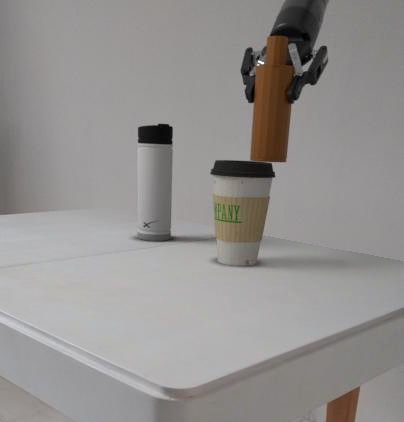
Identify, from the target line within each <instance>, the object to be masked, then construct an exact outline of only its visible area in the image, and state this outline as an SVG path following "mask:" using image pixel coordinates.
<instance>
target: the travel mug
mask: <svg viewBox="0 0 404 422" xmlns="http://www.w3.org/2000/svg"><path fill="white" fill-rule="evenodd" d="M173 134H174V127H173V126H172V125H170V124H169V123H158V124H154V125H153V124H151V125H150V124H149V125H141V126H138V127H137V138H138V139H137V238H138V239H139V240H143V241H150V242H164V241H169V240H170V239H171V237H172V231H171V229H172V199H173V198H172V197H173V196H172V195H173V152H174V150H173V147H174V144H173V142H174V141H173V137H174V135H173Z"/></svg>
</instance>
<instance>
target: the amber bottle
mask: <svg viewBox="0 0 404 422" xmlns="http://www.w3.org/2000/svg"><path fill="white" fill-rule="evenodd" d="M266 45H267V48H266V62H265V64H264V65H258V64H257V66H256V77H255V93H254V103H253V108H252V109H253V111H252V126H251V139H250V154H249V155H250V156H249V161H256V162H268V163H287V159H288V148H289V139H290V138H289V137H290V128H291V127H290V126H291V116H292V105H293V104H289V103H288V97H287V92H288V89H289V87H290V84H291V81H292V79H293V76H294V72H295V67H294V66H289V65H286V59H287V47H288V37H285V36H270V35H269V36H267V37H266Z"/></svg>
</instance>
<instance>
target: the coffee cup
mask: <svg viewBox="0 0 404 422" xmlns="http://www.w3.org/2000/svg"><path fill="white" fill-rule="evenodd" d="M273 167H274V166H273V162H260V161H250V160H234V159H231V160H230V159H229V160H228V159H215V161H214V164H213V168H211V169H210V172H209V173H210V175H212V183H213V193H212V202H213V203H212V204H213V218H214V233H215V234H214V235H215V239H216V255H217V262H218V263H220V264H223V265H227V266H236V267H247V266H253V265H257V262H258V258H259V252H260V247H261V242H262V241H263V236H264V231H265V225H266V221H267V216H268V211H269V205H270V201H271V200H270V199H271V196H270V193H271V188H272V183H273V179H274V178H275V179H276V172H275V171H274V168H273Z"/></svg>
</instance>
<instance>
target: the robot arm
mask: <svg viewBox="0 0 404 422" xmlns="http://www.w3.org/2000/svg"><path fill="white" fill-rule="evenodd" d="M329 3H330V0H284V1H283V3H282V5H281V6H280V9H279V11H278V14H277V16H276V17H275V21H274V23H273V25H272V28H271V31H270V34H269V36H285V37H288V47H287V59H286V65H289V66H294V67H295V72H294V76H293V79H292V81H291V84H290V87H289V89H288V92H287V97H288V103H289V104H292V105H294V104H295V102H296V101H298V100H299V99H300V96H301V94H302V91H303V88H304V87H305V86H306V85H309V86H316V85H317V84H318V82H319V80H320V79H321V76H322V74H323V73H324V71H325V69H326V68H327V67H326V66H327V65H328V63H329V53H328V52H329V51H328V46H327V45H321V46H320V47H319V48H318V49H314V48H315V46H316V43H317V40H318V37H319V34H320V31H321V29H322V26H323V23H324V19H325V18H324V17H325V14H326V11H327V9H328V5H329ZM266 48H267V44H265V46H263V48H261V50H255V51H254V48H253V47H251V46H249V47H247V48H245V51H244V54H243V58H242V62H241V67H240V70H239V72H240V74H241V79H242V83H243V85H244V86H245V88H244V96H245V99H246V101H247V102H248V104H254V93H255V77H256V66H257V65H264V64H265V62H266ZM309 62H311V63H310V64H309V67H308V68H307V70H305V71H304V69H303V67H304V66H305V65H307V64H308V63H309Z"/></svg>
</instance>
